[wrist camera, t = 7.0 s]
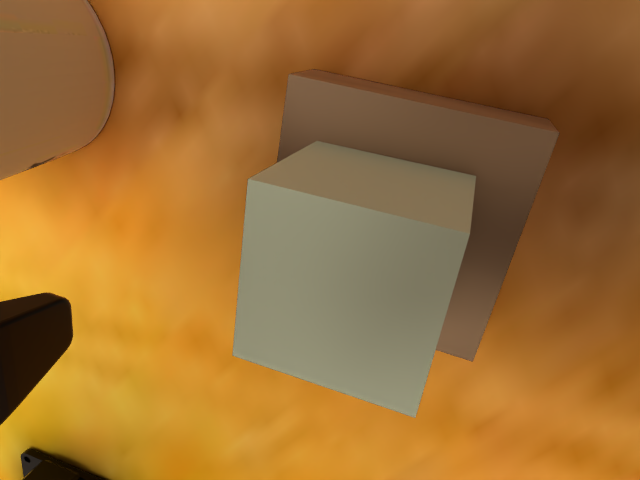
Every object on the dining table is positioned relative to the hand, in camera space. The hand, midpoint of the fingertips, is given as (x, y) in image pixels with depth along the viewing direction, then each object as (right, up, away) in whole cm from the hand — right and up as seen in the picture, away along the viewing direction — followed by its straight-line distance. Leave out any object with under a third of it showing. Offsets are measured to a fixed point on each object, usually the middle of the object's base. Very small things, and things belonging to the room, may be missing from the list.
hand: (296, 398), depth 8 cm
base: (+3, +4, +10) cm, 12 cm away
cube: (+2, +3, +8) cm, 9 cm away
